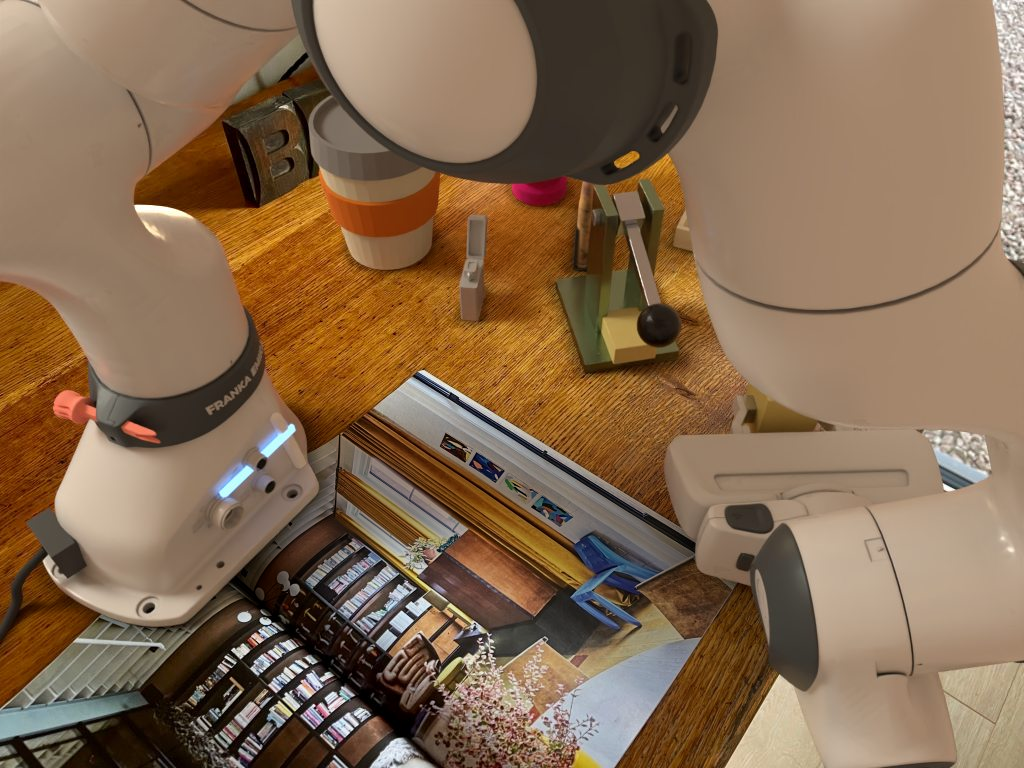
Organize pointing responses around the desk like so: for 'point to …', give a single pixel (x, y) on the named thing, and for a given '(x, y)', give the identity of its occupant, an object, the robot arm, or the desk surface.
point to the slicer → (610, 280)
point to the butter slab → (625, 336)
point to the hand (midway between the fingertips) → (777, 398)
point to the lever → (645, 276)
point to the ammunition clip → (583, 227)
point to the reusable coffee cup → (372, 191)
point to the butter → (776, 416)
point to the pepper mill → (541, 191)
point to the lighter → (474, 268)
